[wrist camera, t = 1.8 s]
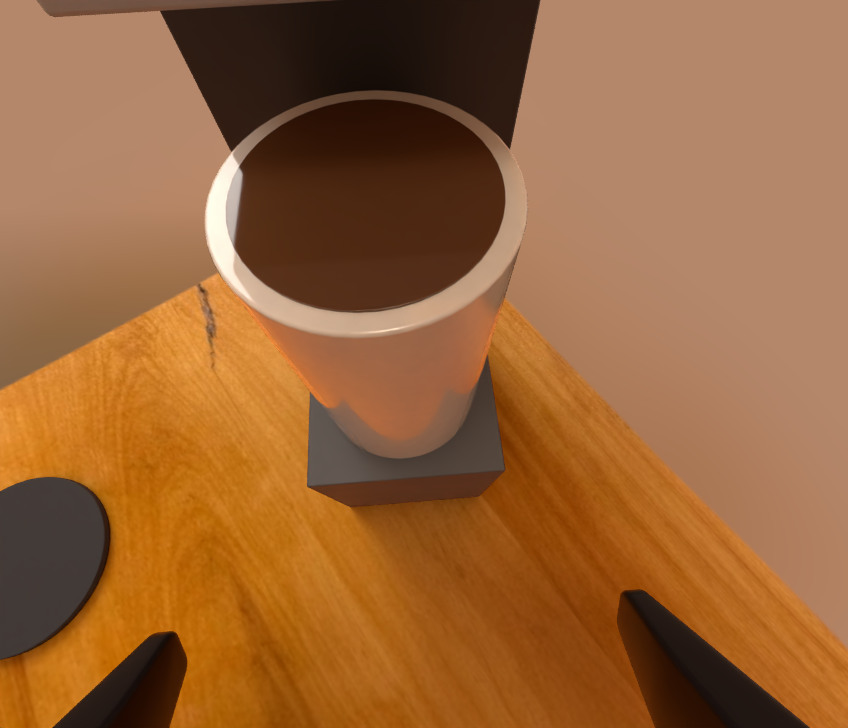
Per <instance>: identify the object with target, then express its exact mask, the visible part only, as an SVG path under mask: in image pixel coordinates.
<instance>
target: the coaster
mask: <svg viewBox="0 0 848 728" xmlns="http://www.w3.org/2000/svg"><path fill="white" fill-rule="evenodd" d="M108 548H109V525H108V519H107V516H106V513H105V510H104V508H103V506H102V504H101V502H100V500H99V499H98V498H97V497H96V495H95V494H94V493H93V492H92V491H90V490H89V489H88V488H87V487H85V486H83V485H82V484H80V483H77V482H75V481H72V480H68V479H63V478H56V477H43V478H35V479H30V480H26V481H23V482H20V483H17V484H15V485H12V486H10V487H8V488H6V489H4V490H2V491H0V660H1V659H5V658H9V657H13V656H16V655H19V654H22V653H25V652H27V651H29V650H31V649H33V648H35V647H37V646H39V645H41V644H42V643H44V642H45V641H47V640H48V639H50V638H51V637H53V636H54V635H55V634H56V633H58V632H59V631H60V630H61V629H63V628H64V627H65V626H66V625H67V624H68V623H69V622H70V621H71V620H72V619H73V618H74V617H75V615H76V614H77V613H78V612H79V611H80V610H81V608H82V607H83V606H84V604H85V603H86V601H87V600H88V599H89V597H90V596H91V594H92V592H93V590H94V589H95V587H96V585H97V583H98V581H99V578H100V576H101V574H102V571H103V568H104V565H105V562H106V558H107V554H108Z"/></svg>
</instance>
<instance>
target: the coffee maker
mask: <svg viewBox="0 0 848 728" xmlns="http://www.w3.org/2000/svg"><path fill="white" fill-rule="evenodd" d="M37 1H38V3H39V4H40V5H41V7H42V8H43V9H44V11H45V12H46V13H47V14H49V15H50V16H53V17H63V16H79V15H96V14H111V13H112V14H113V13H130V12H147V11H160V12H161V14H162V16H163V18H164V20H165V22H166V24H167V25H168V28H169V30H170V32H171V33H172V35H173V38H174V40H175V41H176V44H177V45H178V48H179V50H180V51H181V53H182V55H183V57H184V59H185V61H186V63H187V65H188V67H189V69H190V71H191V73H192V75H193V77H194V79H195V81H196V83H197V85H198V87H199V89H200V91H201V93H202V95H203V97H204V99H205V101H206V103H207V105H208V107H209V109H210V111H211V113H212V114H213V117H214V119H215V121H216V123H217V125H218V127H219V129H220V131H221V133H222V135H223V137H224V138H225V141H226V142H227V145H228V146H229V148H230V150H231V152H232V151H233V150H234V149H235V148H236V147H237V146H238V145H239V144H240V143H241V141H242V140H244V139H245V138H246V137H247V136H248V135H249V134H251V133H252V132H253V131H254V130H255V129H257V128H258V127H260V126H261V125H262V124H264V123H265V122H267V121H268V120H270V119H271V118H273V117H275V116H277V115H279V114H281V113H282V112H284V111H286V110H289V109H291V108H293V107H296V106H298V105H300V104H303V103H306V102H309V101H312V100H315V99H318V98H321V97H326V96H330V95H334V94H339V93H346V92H353V91H367V90H389V91H400V92H408V93H414V94H418V95H423V96H428V97H431V98H434V99H437V100H441V101H444V102H446V103H448V104H451V105H453V106H455V107H458V108H460V109H462V110H464V111H465V112H467V113H469V114H471V115H473V116H474V117H476V118H477V119H478V120H480V121H481V122H483V123H484V124H485V125H487V126H488V127H489V128H490V129H491V130H492V131H493V132H494V133H496V134H497V135H498V136H499V137H500V139H501V140H502V141H503V142H504V143H505V145H506V146H507V147H508V148H509V150H510V147H511V142H512V137H513V132H514V127H515V122H516V117H517V112H518V107H519V103H520V98H521V93H522V88H523V83H524V78H525V73H526V68H527V63H528V58H529V53H530V49H531V43H532V39H533V34H534V29H535V24H536V19H537V14H538V9H539V4H540V0H37ZM504 471H505V464H504V457H503V451H502V445H501V438H500V432H499V425H498V419H497V412H496V406H495V399H494V393H493V387H492V380H491V374H490V367H489V361H488V354H487V357H486V360H485V364H484V367H483V370H482V373H481V377H480V380H479V383H478V387H477V390H476V393H475V396H474V400H473V403H472V406H471V410H470V412H469V415H468V417H467V419H466V421H465V422H464V424H463V425H462V427H461V428H460V430H459V431H458V432H457V433H456V434H455V435H454V436H453V437H452V438H451V439H450V440H449V441H448V442H447V443H445V444H444V445H442V446H441V447H439V448H437V449H435V450H433V451H431V452H429V453H427V454H424V455H421V456H417V457H412V458H402V459H397V458H386V457H381V456H377V455H374V454H372V453H369V452H367V451H365V450H363V449H361V448H359V447H358V446H357V445H355V444H354V443H352V442H351V441H350V440H349V439H348V438H347V437H346V436H345V435H344V434H343V433H342V431H341V430H340V429H339V428H338V426H337V425H336V424H335V423H334V421H333V420H332V419H331V417H330V416H329V415H328V414H327V412H326V411H325V410H324V409H323V407H322V406H321V405H320V403H319V402H318V401H317V400H316V398H315V397H314V396H313V394H312V393H311V392H310V412H309V443H308V473H307V487H309V488H311V489H313V490H315V491H317V492H319V493H322V494H324V495H326V496H328V497H330V498H332V499H334V500H336V501H339V502H341V503H343V504H345V505H347V506H349V507H358V506H369V505H381V504H393V503H405V502H417V501H429V500H441V499H453V498H464V497H476V496H479V495H480V494H481V493H483V492H484V491H485V490H486V489H487V488H488V487H489V486H490V485H491V484H492V483H493V482H494V481H495V480H496V479H497V478H498V477H499V476H500V475H501V474H502V473H503V472H504Z"/></svg>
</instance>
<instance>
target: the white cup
mask: <svg viewBox="0 0 848 728" xmlns="http://www.w3.org/2000/svg"><path fill="white" fill-rule="evenodd" d="M527 214H528V204H527V192H526V188H525V183H524V179H523V175H522V173H521V171H520V168H519V166H518V163H517V161H516V160H515V158H514V156H513V155H512V153H511V151H510V150H509V148H508V147H507V146H506V145H505V143H504V142H503V141H502V140H501V139H500V137H499V136H498V135H497V134H496V133H494V132H493V131H492V130H491V129H490V128H489V127H488V126H487V125H485V124H484V123H483V122H481V121H480V120H478V119H477V118H476V117H474V116H473V115H471V114H469V113H467V112H465V111H464V110H462V109H460V108H458V107H455V106H453V105H451V104H448V103H446V102H444V101H441V100H437V99H434V98H431V97H428V96H423V95H418V94H414V93H408V92H400V91H389V90H367V91H353V92H346V93H339V94H334V95H330V96H326V97H321V98H318V99H315V100H312V101H309V102H306V103H303V104H300V105H298V106H296V107H293V108H291V109H289V110H286V111H284V112H282V113H281V114H279V115H277V116H275V117H273V118H271V119H270V120H268V121H267V122H265V123H264V124H262V125H261V126H260V127H258V128H257V129H255V130H254V131H253V132H252V133H251V134H249V135H248V136H247V137H246V138H245V139H244V140H242V141H241V143H240V144H239V145H238V146H237V147H236V148H235V149H234V150H233V151H232V152H231V153H230V155H229V156H228V158H227V159H226V160H225V162H224V163H223V165H222V166H221V168H220V170H219V171H218V173H217V175H216V177H215V179H214V181H213V183H212V186H211V189H210V192H209V195H208V198H207V204H206V209H205V234H206V240H207V245H208V249H209V252H210V255H211V258H212V260H213V263H214V265H215V267H216V269H217V270H218V272H219V274H220V276H221V277H222V279H223V280H224V282H225V283H226V284H227V286H228V287H229V288H230V289H231V291H232V292H233V293H234V295H235V296H236V297H237V298H238V300H239V301H240V302H241V303H242V305H243V306H244V307H245V309H246V310H247V311H248V312H249V314H250V315H251V316H252V318H253V319H254V320H255V321H256V323H257V324H258V325H259V327H260V328H261V329H262V330H263V332H264V333H265V334H266V336H267V337H268V338H269V339H270V341H271V342H272V343H273V344H274V346H275V347H276V348H277V350H278V351H279V352H280V353H281V355H282V356H283V357H284V359H285V360H286V361H287V362H288V364H289V365H290V366H291V368H292V369H293V370H294V371H295V373H296V374H297V375H298V376H299V378H300V379H301V380H302V382H303V383H304V384H305V385H306V387H307V388H308V389H309V391H310V392H311V393H312V394H313V396H314V397H315V398H316V400H317V401H318V402H319V403H320V405H321V406H322V407H323V409H324V410H325V411H326V412H327V414H328V415H329V416H330V417H331V419H332V420H333V421H334V423H335V424H336V425H337V426H338V428H339V429H340V430H341V431H342V433H343V434H344V435H345V436H346V437H347V438H348V439H349V440H350V441H351V442H352V443H354V444H355V445H357V446H358V447H359V448H361V449H363V450H365V451H367V452H369V453H372V454H374V455H377V456H381V457H386V458H397V459H402V458H412V457H417V456H421V455H424V454H427V453H429V452H431V451H433V450H435V449H437V448H439V447H441V446H442V445H444V444H445V443H447V442H448V441H449V440H450V439H451V438H452V437H453V436H454V435H455V434H456V433H457V432H458V431H459V430H460V428H461V427H462V425H463V424H464V422H465V421H466V419H467V417H468V415H469V412H470V410H471V406H472V403H473V400H474V396H475V393H476V390H477V387H478V383H479V380H480V377H481V373H482V370H483V367H484V364H485V360H486V357H487V354H488V350H489V347H490V344H491V341H492V337H493V334H494V331H495V327H496V324H497V321H498V318H499V314H500V311H501V308H502V304H503V301H504V298H505V294H506V291H507V288H508V285H509V281H510V278H511V275H512V271H513V268H514V265H515V261H516V258H517V255H518V251H519V248H520V245H521V242H522V238H523V235H524V232H525V228H526V222H527Z"/></svg>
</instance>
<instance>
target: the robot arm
mask: <svg viewBox="0 0 848 728" xmlns="http://www.w3.org/2000/svg"><path fill="white" fill-rule="evenodd" d="M617 624H618V629H619V632H620V635H621V638H622V640H623V643H624V646H625V649H626V651H627V654H628V657H629V659H630V662H631V665H632V668H633V670H634V673H635V676H636V678H637V681H638V684H639V687H640V689H641V692H642V695H643V697H644V700H645V703H646V706H647V708H648V711H649V713H650V716H651V718H652V721H653V723H654V725H655V727H656V728H810V727H808V726H807V725H806V724H805V723H803V722H802V721H801V720H800V719H799V718H797V717H796V716H795V715H794V714H793V713H791V712H790V711H789V710H788V709H787V708H785V707H784V706H783V705H782V704H781V703H779V702H778V701H777V700H776V699H775V698H773V697H772V696H771V695H770V694H769V693H767V692H766V691H765V690H764V689H762V688H761V687H760V686H759V685H758V684H756V683H755V682H754V681H753V680H752V679H750V678H749V677H748V676H747V675H746V674H744V673H743V672H742V671H741V670H740V669H738V668H737V667H736V666H735V665H734V664H732V663H731V662H730V661H729V660H727V659H726V658H725V657H724V656H723V655H721V654H720V653H719V652H718V651H717V650H715V649H714V648H713V647H712V646H711V645H709V644H708V643H707V642H706V641H705V640H703V639H702V638H701V637H700V636H699V635H697V634H696V633H695V632H694V631H693V630H691V629H690V628H689V627H688V626H686V625H685V624H684V623H683V622H682V621H680V620H679V619H678V618H677V617H676V616H674V615H673V614H672V613H671V612H670V611H668V610H667V609H666V608H665V607H664V606H662V605H661V604H660V603H659V602H658V601H656V600H655V599H654V598H653V597H651V596H650V595H649V594H648V593H647V592H645V591H643V590H640V589H636V590H625V591H623V592H622V593H621V595H620V601H619V608H618V615H617ZM186 669H187V657H186V654H185V652H184V649H183V647H182V644H181V642H180V639H179V637H178V635H177V633H175V632H174V631H169V632H158V633H154V634H152V635H151V636H149V637H148V638H147V639H146V640H145V641H144V642H143V643H142V644H140V645H139V646H138V647H137V648H136V649H135V650H134V651H133V652H132V653H131V654H130V655H129V656H128V657H127V658H126V659H125V660H124V661H122V662H121V663H120V664H119V665H118V666H117V667H116V668H115V669H114V670H113V671H112V672H111V673H110V674H109V675H108V676H107V677H106V678H104V679H103V680H102V681H101V682H100V683H99V684H98V685H97V686H96V687H95V688H94V689H93V690H92V691H91V692H90V693H89V694H88V695H86V696H85V697H84V698H83V699H82V700H81V701H80V702H79V703H78V704H77V705H76V706H75V707H74V708H73V709H72V710H71V711H70V712H69V713H67V714H66V715H65V716H64V717H63V718H62V719H61V720H60V721H59V722H58V723H57V724H56V725H55V726H54V727H53V728H169V727H170V723H171V720H172V717H173V713H174V710H175V707H176V703H177V700H178V697H179V693H180V690H181V687H182V683H183V680H184V677H185V673H186Z"/></svg>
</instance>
